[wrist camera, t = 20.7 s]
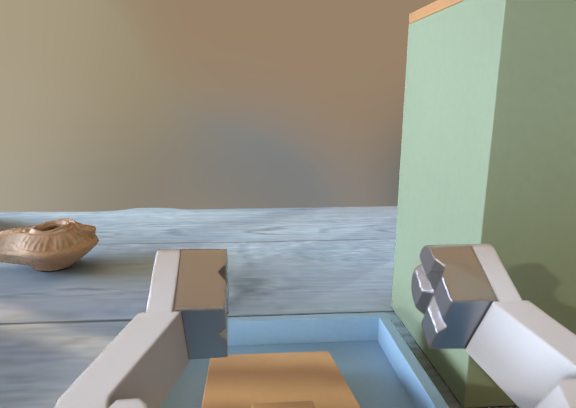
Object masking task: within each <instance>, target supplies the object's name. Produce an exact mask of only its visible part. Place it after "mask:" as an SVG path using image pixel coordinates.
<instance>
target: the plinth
mask: <svg viewBox="0 0 576 408" xmlns="http://www.w3.org/2000/svg"><path fill="white" fill-rule="evenodd" d="M444 244H491V245H492V246H493V247H494V249H495V251H496V252H497V254H498V256H499V258H500V260H501V262H502V263H503V265H504V267H505V269H506V271H507V273H508V275H509V276H510V278H511V280H512V282H513V284H514V286H515V287H516V289H517V291H518V293H519V295H520V297H521V299H522V300H529V301H530V302H532V303H533V304H534V305H536V306H537V307H538V308H540V309H541V310H543V311H544V312H545V313H547V314H548V315H549V316H551V317H552V318H553V319H555V320H556V321H557V322H559V323H560V324H562V325H563V326H564V327H566V328H567V329H568V330H570V331H571V332H572V333H574V334H575V335H576V0H437V1H435V2H433V3H431V4H429V5H427V6H425V7H423V8H421V9H419V10H417V11H415V12H413V13H411V14H410V17H409V32H408V49H407V65H406V81H405V98H404V113H403V129H402V145H401V161H400V178H399V193H398V210H397V226H396V242H395V258H394V274H393V290H392V306H391V307H392V309H393V310H394V312H395V313H396V314H397V316H398V317H399V319H400V320H401V321H402V323H403V324H404V326H405V327H406V328H407V330H408V331H409V333H410V334H411V335H412V337H413V338H414V339H415V341H416V342H417V344H418V345H419V346H420V348H421V349H422V351H423V352H424V353H425V355H426V356H427V358H428V359H429V360H430V362H431V363H432V365H433V366H434V367H435V369H436V370H437V372H438V373H439V374H440V376H441V377H442V379H443V380H444V381H445V383H446V384H447V386H448V387H449V388H450V390H451V391H452V393H453V394H454V395H455V397H456V398H457V400H458V401H459V402H460V404H461V405H462V407H463V408H473V407H491V406H510V405H516V404H515V403H514V402H513V401H512V399H511V398H510V397H509V396H508V395H507V394H506V393H505V392H504V391H503V390H502V389H501V388H500V387H499V386H498V385H497V384H496V383H495V382H494V381H493V379H492V378H491V377H490V376H489V375H488V374H487V373H486V372H485V371H484V370H483V369H482V368H481V367H480V366H479V365H478V364H477V363H476V362H475V361H474V359H473V358H472V357H471V356H470V355H469V354H468V353H467V352H466V351H465V349H429V346H428V343H427V340H426V337H425V334H424V331H423V328H422V325H421V323H422V320H423V318H424V314H423V313H421V312H420V311H419V310H418V309H417V308H416V307H415V304H414V301H413V297H412V291H411V282H412V275H413V272H414V269H415V268H416V267H417V266H419V265H420V264H421V263H422V262H421V260H420V257H419V255H420V253H421V250H422V248H423V247H424V246H425V245H444Z"/></svg>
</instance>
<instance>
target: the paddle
mask: <svg viewBox="0 0 576 408" xmlns="http://www.w3.org/2000/svg"><path fill="white" fill-rule="evenodd" d="M201 408H361V407H360V405H359V404H358V402H357V400H356V398H355V397H354V395H353V393H352V391H351V390H350V388H349V386H348V384H347V383H346V381H345V379H344V377H343V376H342V374H341V372H340V370H339V369H338V367H337V365H336V363H335V361H334V360H333V358H332V356H331V354H330V353H329V351H316V352H290V353H264V354H238V355H228V357H221V358H210V362H209V368H208V374H207V379H206V385H205V390H204V396H203V401H202V407H201Z"/></svg>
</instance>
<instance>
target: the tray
mask: <svg viewBox="0 0 576 408" xmlns="http://www.w3.org/2000/svg"><path fill="white" fill-rule="evenodd" d="M316 351H329V353H330V354H331V356H332V358H333V360H334V361H335V363H336V365H337V367H338V369H339V370H340V372H341V374H342V376H343V377H344V379H345V381H346V383H347V384H348V386H349V388H350V390H351V391H352V393H353V395H354V397H355V398H356V400H357V402H358V404H359V405H360V407H361V408H450V407H449V406H448V404H447V403H446V401H445V400H444V399H443V397H442V396H441V394H440V393H439V391H438V390H437V388H436V387H435V385H434V384H433V382H432V381H431V379H430V378H429V376H428V375H427V373H426V372H425V370H424V369H423V367H422V366H421V364H420V363H419V361H418V360H417V358H416V357H415V355H414V354H413V352H412V351H411V349H410V348H409V346H408V345H407V343H406V342H405V340H404V339H403V337H402V336H401V334H400V333H399V331H398V330H397V329H396V327H395V326H394V324H393V323H392V321H391V320H390V318H389V317H388V315H387V314H386V312H380V313H350V314H320V315H290V316H260V317H230V318H228V355H238V354H264V353H290V352H316ZM209 362H210V358H206V359H191V360H189V363H188V364H187V366H186V367H185V369H184V370H183V372H182V373H181V375H180V376H179V378H178V379H177V381H176V382H175V384H174V385H173V387H172V388H171V390H170V391H169V393H168V394H167V396H166V397H165V399H164V400H163V402H162V403H161V405H160V406H159V408H201V407H202V401H203V396H204V390H205V385H206V379H207V374H208V368H209Z"/></svg>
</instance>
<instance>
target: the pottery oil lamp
mask: <svg viewBox="0 0 576 408" xmlns="http://www.w3.org/2000/svg"><path fill="white" fill-rule="evenodd" d="M95 231H96V228H95V227H94V226H91V225H83V224H81V223H78V222H76V221H75V220H73V219H57V220H54V221H50V222H45V223H42V224H39V225H35V226H30V227H22V228H14V229H8V230H4V231H0V262H5V263H13V264H21V265H30V266H32V267H33V268H34V269H35V270H39V271H55V270H60V269H63V268H68V267H70V266H71V265H72V264H73V263H74V262H76V261H77V260H79V259H81V258H82V257H83V256H85V255H86V254H87V253H88V252H89V251H90V250H91V249H92V248H93V247H94V246H95V245H96V244H97V243H98V241H99V240H98V237H97V236H96V235H95Z"/></svg>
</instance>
